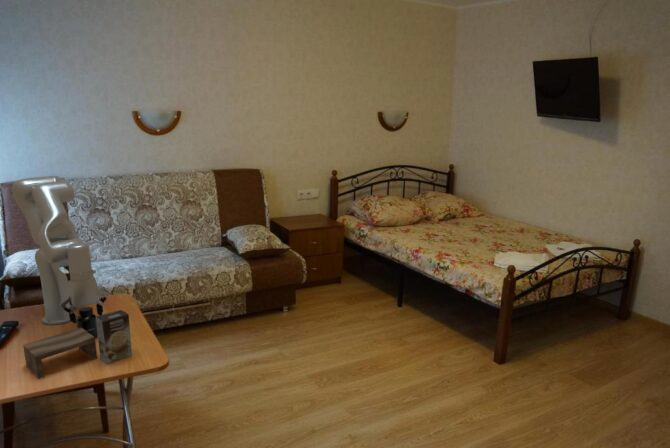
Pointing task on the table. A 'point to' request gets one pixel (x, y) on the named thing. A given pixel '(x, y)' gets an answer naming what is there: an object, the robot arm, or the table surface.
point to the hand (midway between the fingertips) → (87, 318)
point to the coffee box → (114, 336)
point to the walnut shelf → (58, 348)
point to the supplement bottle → (87, 321)
